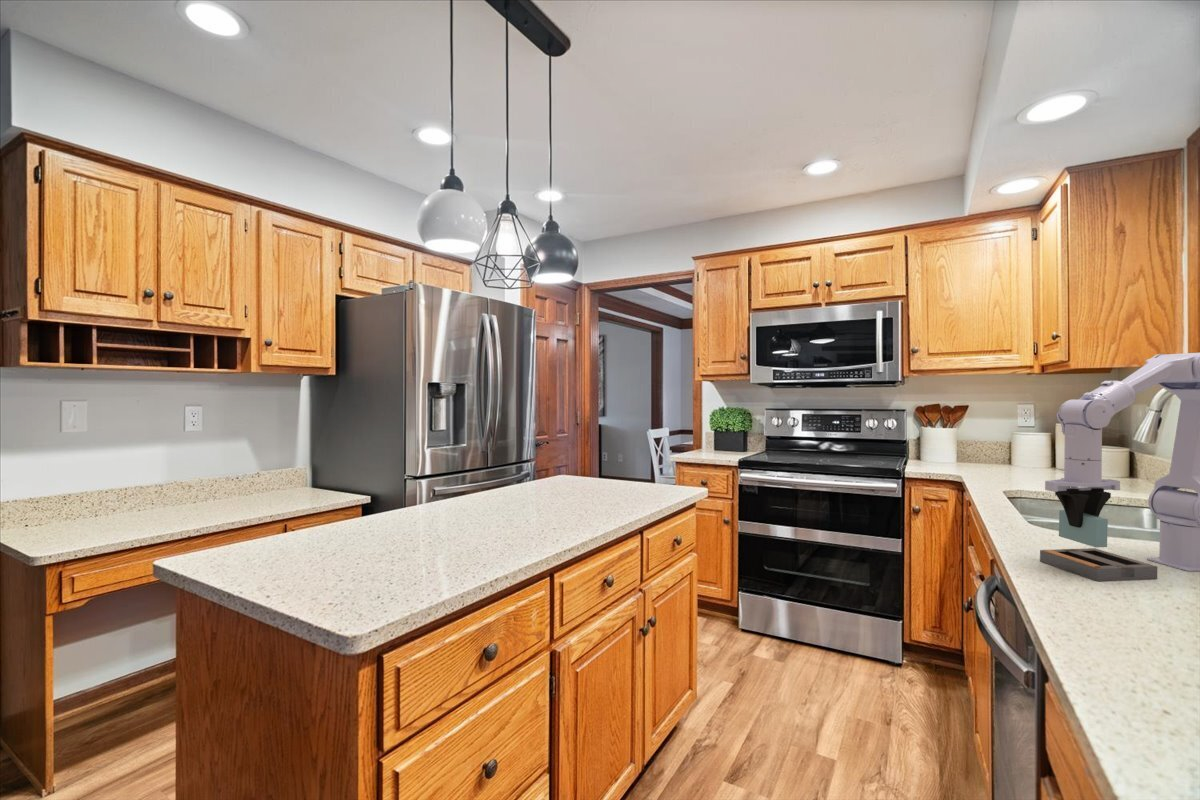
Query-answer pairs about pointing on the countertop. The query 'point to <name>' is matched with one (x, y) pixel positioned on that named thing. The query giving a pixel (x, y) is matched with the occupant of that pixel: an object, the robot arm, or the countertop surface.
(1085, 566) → the panel rack
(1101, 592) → the countertop surface
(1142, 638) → the countertop surface
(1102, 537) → the panel
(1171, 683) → the countertop surface
